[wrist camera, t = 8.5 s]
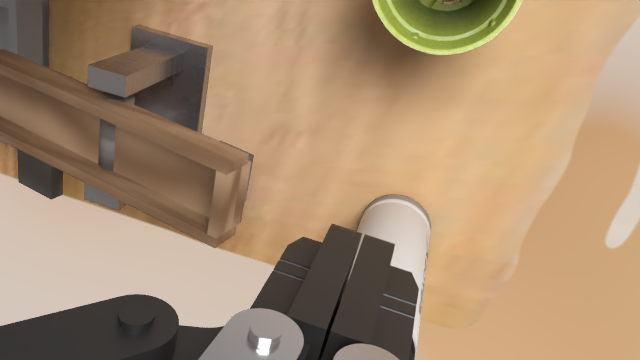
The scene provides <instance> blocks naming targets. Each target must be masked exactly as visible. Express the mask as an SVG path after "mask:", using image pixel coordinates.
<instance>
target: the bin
mask: <svg viewBox="0 0 640 360" xmlns="http://www.w3.org/2000/svg"><path fill="white" fill-rule="evenodd" d="M2 49H5V50H7V51H9V52H12V53H14V54H16V55H19V56H21V57H23V58H26V59H28V60H30V61H33V62H35V63H37V64H40V65H42V66H44V67H47V68H49V12H48V0H0V50H2ZM0 142H3V143H6V142H4V141H2V140H0ZM7 144H8V143H7Z"/></svg>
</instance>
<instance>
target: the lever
mask: <svg viewBox="0 0 640 360" xmlns="http://www.w3.org/2000/svg"><path fill="white" fill-rule="evenodd" d="M134 102H135V97H134V95H129V96H127V97H125V98H124V97H121V96H118V95H115V94H111V93H108V92H105V91H104V92H103V91H100V90H98V89H95V88H91V87H88V85H86V84H84V83H82V82H79V81H77V80H75V79H72V78H70V77H68V76H65V75H63V74H61V73H58V72H56V71H54V70H51V69H49V68H47V67H44V66H42V65H40V64H37V63H35V62H33V61H30V60H28V59H26V58H23V57H21V56H19V55H16V54H14V53H12V52H9V51H7V50H5V49H2V50H0V140H2V141H4V142H6V143H8V144H9V145H11V146H13V147H15V148H17V149H18V177H19V183H21V184H23V185H25V186H27V187H29V188H31V189H33V190H35V191H36V192H38V193H40V194H42V195H44V196H46V197H48V198H49V199H53V198H56V197H58V196H61V195H63V172H65V173H67V174H69V175H71V176H73V177H75V178H77V179H79V180H81V181H83V182H85V183H87V184H89V185H91V186H93V187H95V188H97V189H99V190H101V191H103V192H105V193H107V194H109V195H111V196H113V197H115V198H117V199H119V200H120V201H122V202H124V203H126V204H128V205H130V206H132V207H134V208H136V209H138V210H140V211H142V212H144V213H146V214H148V215H150V216H152V217H154V218H156V219H158V220H160V221H162V222H164V223H166V224H168V225H170V226H172V227H174V228H176V229H178V230H180V231H182V232H184V233H186V234H188V235H190V236H192V237H194V238H196V239H198V240H200V241H202V242H204V243H206V244H208V245H210V246H212V247H214V248H216V247H217V246H219V245H220V244H222V243H223V242H224V241H226V240H227V239H229V238H230V237H231V236H233V235H234V234H235V229H236V225H237V224H239V223H240V222H241V218H242V212H243V207H244V202H245V201H246V196H247V190H248V185H249V179H250V173H251V168H252V162H253V157H254V155H253V154H250V153H248V152H246V151H243V150H241V149H239V148H236V147H234V146H232V145H229V144H227V143H225V142H222V141H217V140H215V139H213V138H210V137H208V136H206V135H203V134H201V133H198V132H196V131H194V130H191V129H189V128H187V127H184V126H182V125H180V124H177V123H175V122H173V121H170V120H168V119H166V118H163V117H161V116H159V115H156V114H154V113H152V112H149V111H147V110H145V109H142V108H140V107H138V106H135V105H134Z"/></svg>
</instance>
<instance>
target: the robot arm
mask: <svg viewBox="0 0 640 360" xmlns="http://www.w3.org/2000/svg"><path fill="white" fill-rule="evenodd" d="M361 236H362V233H360V232H357V231H353V230H350V229H347V228H344V227H341V226H338V225H335V224H332V225H331V226H330V228H329V230H328V233H327V235H326V237H325V239H324V241H323V243H321V242H318V241H315V240H312V239H309V238H306V237H302V238H300V239H298V240H297V241H295V242H293V243H291V244H289V245H288V246H287V248H286V249H285V251H284V253H283V254H282V256H281V258H280V261H278V263H277V264H276V266H275V268H274V270H273V272H272V273H271V275H270V276H269V278H268V280H267V281H266V283H265V285H264V286H263V288H262V290H261V291H260V293H259V295H258V296H257V298H256V300H255V301H254V303H253V305H252V306H251V308H250V309H247V310H244V311H241V312H239V313H237V314H235V315H234V316H233V317H232V318H231V319H230V320H229V321H228V322H227V323H226V325H225V326H223V327H217V328H200V327H191V326H180V325H179V319H178V315H177V314H176V311H175V310H174V309H173V308H172V306H170V305H169V304H168V303H166V302H165V301H163V300H161V299H159V298H156V297H153V296H148V295H138V294H137V295H136V294H135V295H125V296H120V297H116V298H112V299H108V300H105V301H100V302H96V303H92V304H88V305H84V306H80V307H76V308H72V309H68V310H64V311H60V312H56V313H52V314H48V315H44V316H40V317H36V318H32V319H28V320H23V321H19V322H15V323H11V324H8V325H4V326H0V360H409V356H410V349H411V342H412V335H413V328H414V321H415V319H414V318H415V313H416V305H417V299H418V292H419V288H418V285H417V283H416V281H415V279H414V276H413V274H412V272H409V271H406V270H403V269H400V268H397V267H394V266H391V265H390V264H391V260H392V256H393V252H394V247H395V244H394V243H391V242H388V241H385V240H382V239H378V238H375V237H372V236H369V235H366V234H365V235H364V238H363V241H362V243H361V246H360V249H359V252H358V255H357V258H356V260H355V256H356V253H357V250H358V246H359V243H360V240H361ZM354 260H355V263H354ZM353 263H354V266H353ZM352 266H353V269H352ZM351 269H352V272H351ZM350 273H351V274H350ZM349 276H350V277H349ZM348 279H349V280H348ZM322 357H323V358H322Z"/></svg>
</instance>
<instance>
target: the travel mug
mask: <svg viewBox="0 0 640 360" xmlns="http://www.w3.org/2000/svg"><path fill="white" fill-rule="evenodd" d="M357 232H360V233H362V236H361V240H360V243H359V246H358V250H357V253H356V256H355V260H356V258H357V255H358V252H359V249H360V246H361V243H362V241H363V238H364V235H365V234H366V235H369V236H372V237H375V238H378V239H382V240H385V241H388V242H391V243H394V244H395V247H394V252H393V256H392V260H391V264H390V265H391V266H394V267H397V268H400V269H403V270H406V271H409V272H412V274H413V276H414V279H415V281H416V283H417V285H418V288H419V292H418V299H417V305H416V313H415V318H414V319H415V321H414V328H413V335H412V342H411V349H410V356H409V360H415V358H416V350H417V342H418V333H419V325H420V317H421V309H422V300H423V292H424V283H425V275H426V267H427V258H428V250H429V241H430V233H431V223H430V219H429V216H428V214H427V212H426V211H425V209H424V208H423V207H422V206H421V205H420V204H419V203H418V202H416V201H415V200H413V199H411V198H409V197H406V196H403V195H395V194H393V195H385V196H382V197H379V198H377V199H375V200H374V201H373V202H371V203H370V204H369V205H368V206H367V208H366V209H365V211H364V213H363V216H362V218H361V221H360V224H359V227H358V229H357ZM355 260H354V263H355ZM354 263H353V266H354ZM353 266H352V269H353ZM352 269H351V272H352ZM350 274H351V273H350ZM349 277H350V276H349ZM348 280H349V279H348ZM322 358H323V357H322Z"/></svg>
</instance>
